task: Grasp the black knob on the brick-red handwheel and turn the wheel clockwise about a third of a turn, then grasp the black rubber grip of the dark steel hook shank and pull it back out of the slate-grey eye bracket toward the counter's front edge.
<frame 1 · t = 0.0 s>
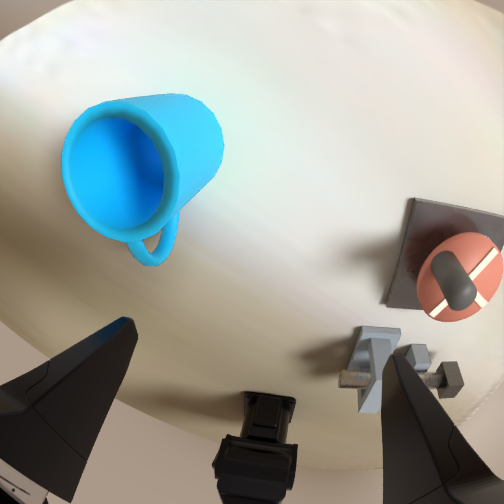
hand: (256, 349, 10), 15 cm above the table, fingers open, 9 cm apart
eye bracket: (371, 351, 28), on the table
mug: (175, 168, 23), on the table
hook rod: (403, 380, 25), point 4 cm above the table, slide at 0.0 cm
handwheel: (468, 291, 18), point 4 cm above the table, hinge at 60.0°
wheel mount: (450, 261, 22), on the table
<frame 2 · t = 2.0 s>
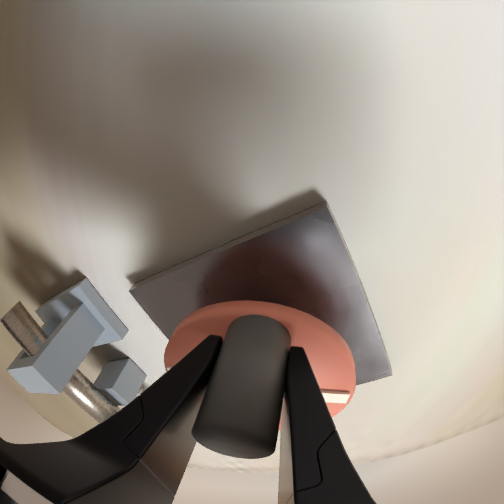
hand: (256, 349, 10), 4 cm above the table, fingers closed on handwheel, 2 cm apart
eye bracket: (79, 316, 17), on the table
hook rod: (81, 390, 15), point 4 cm above the table, slide at 0.0 cm
handwheel: (251, 408, 11), point 4 cm above the table, hinge at 60.1°, touching gripper
wheel mount: (268, 332, 14), on the table
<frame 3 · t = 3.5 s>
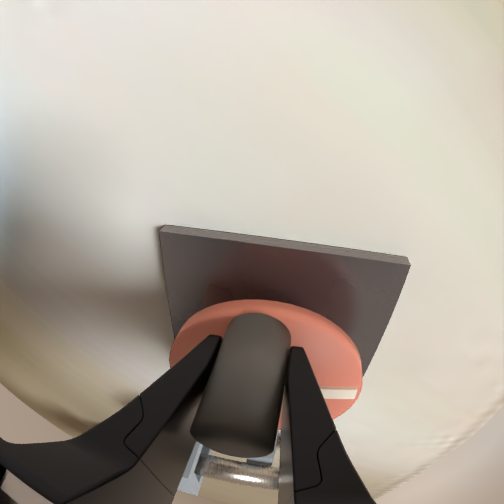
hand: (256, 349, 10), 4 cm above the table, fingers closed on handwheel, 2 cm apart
eye bracket: (201, 420, 21), on the table
hook rod: (228, 470, 17), point 4 cm above the table, slide at 0.0 cm
handwheel: (257, 408, 11), point 4 cm above the table, hinge at 6.8°, touching gripper
wheel mount: (273, 331, 14), on the table
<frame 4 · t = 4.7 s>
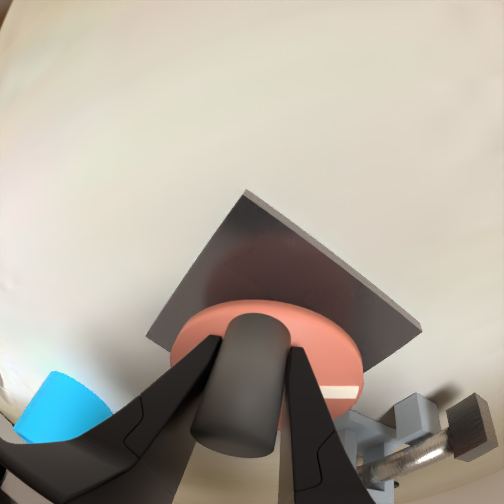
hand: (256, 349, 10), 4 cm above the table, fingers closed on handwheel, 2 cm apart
eye bracket: (360, 433, 18), on the table
mug: (96, 405, 26), on the table
hook rod: (395, 465, 14), point 4 cm above the table, slide at 0.0 cm
handwheel: (258, 408, 10), point 4 cm above the table, hinge at -50.9°, touching gripper
wheel mount: (274, 332, 14), on the table
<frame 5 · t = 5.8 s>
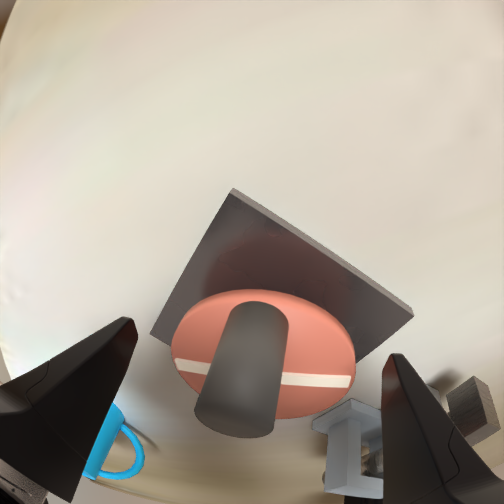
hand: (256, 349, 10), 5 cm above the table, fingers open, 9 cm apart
eye bracket: (365, 423, 19), on the table
mug: (107, 408, 27), on the table
hook rod: (400, 452, 14), point 4 cm above the table, slide at 0.0 cm
handwheel: (255, 394, 11), point 4 cm above the table, hinge at -56.4°
wheel mount: (271, 323, 15), on the table
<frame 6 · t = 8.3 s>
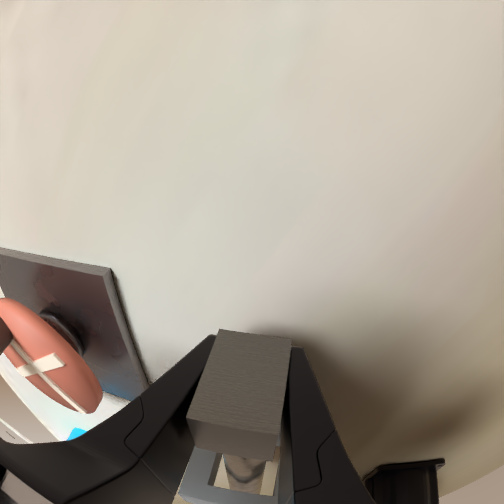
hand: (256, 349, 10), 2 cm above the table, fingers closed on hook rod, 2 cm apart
eye bracket: (257, 418, 16), on the table
hook rod: (245, 458, 11), point 4 cm above the table, slide at 0.0 cm, touching gripper
handwheel: (25, 379, 11), point 4 cm above the table, hinge at -56.4°
wheel mount: (66, 328, 15), on the table
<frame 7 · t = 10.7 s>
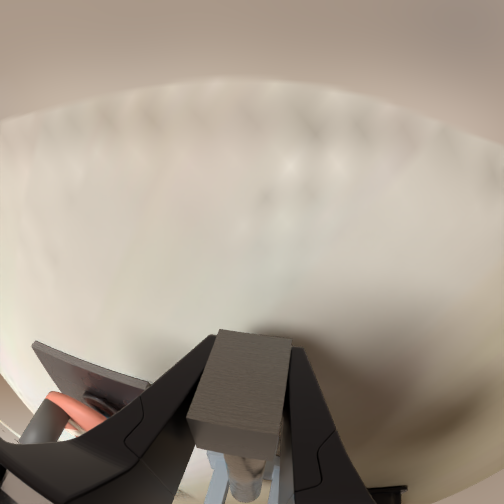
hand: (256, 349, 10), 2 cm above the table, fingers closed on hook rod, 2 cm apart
eye bracket: (255, 461, 20), on the table
hook rod: (245, 458, 11), point 4 cm above the table, slide at 7.9 cm, touching gripper
handwheel: (82, 445, 15), point 4 cm above the table, hinge at -56.4°
wheel mount: (106, 401, 19), on the table
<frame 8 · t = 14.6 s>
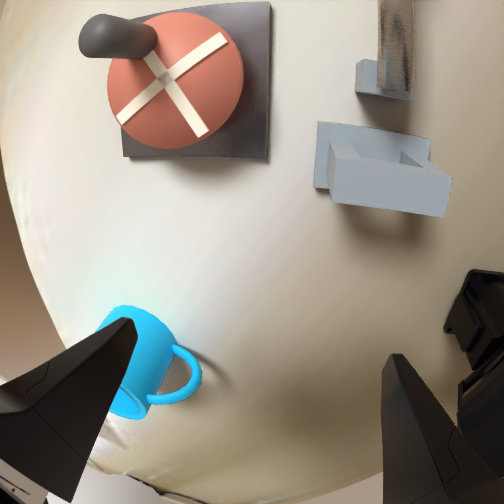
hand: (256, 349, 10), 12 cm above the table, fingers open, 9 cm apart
eye bracket: (371, 159, 17), on the table
mug: (158, 337, 29), on the table
handwheel: (156, 78, 13), point 4 cm above the table, hinge at -56.4°
wheel mount: (189, 79, 16), on the table
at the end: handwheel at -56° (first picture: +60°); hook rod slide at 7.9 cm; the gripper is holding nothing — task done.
